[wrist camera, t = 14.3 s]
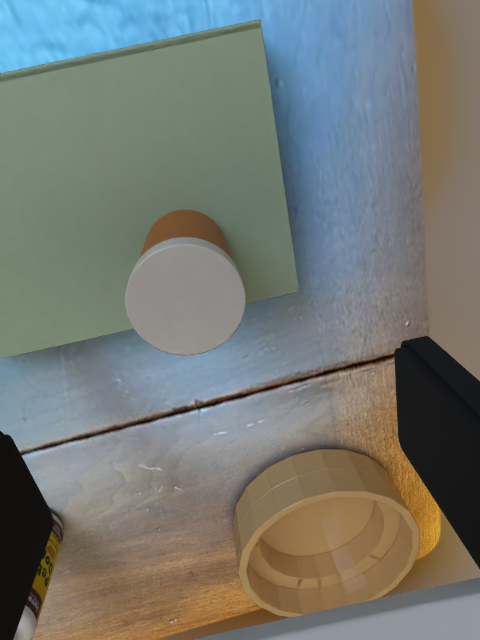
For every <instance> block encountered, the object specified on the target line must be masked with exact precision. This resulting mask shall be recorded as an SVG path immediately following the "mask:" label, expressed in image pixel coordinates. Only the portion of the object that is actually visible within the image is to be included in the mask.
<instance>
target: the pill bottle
mask: <svg viewBox="0 0 480 640" xmlns="http://www.w3.org/2000/svg"><path fill="white" fill-rule="evenodd" d="M125 304H126V310H127V314H128V317H129V320H130V322H131V324H132V326H133V327H134V329H135V330H136V332H137V333H138V334H139V335H140V336H141V337H142V338H143V339H144V340H145V341H146V342H148V343H149V344H150V345H152V346H154V347H155V348H157V349H159V350H162V351H164V352H167V353H171V354H176V355H196V354H201V353H205V352H208V351H210V350H213V349H215V348H217V347H218V346H220V345H221V344H223V343H224V342H226V341H227V340H228V339H229V338H230V337H231V336H232V335H233V334H234V332H235V331H236V330H237V328H238V327H239V325H240V323H241V321H242V318H243V315H244V312H245V307H246V293H245V287H244V284H243V281H242V278H241V275H240V273H239V270H238V268H237V266H236V265H235V263H234V261H233V260H232V257H231V254H230V251H229V248H228V245H227V243H226V240H225V237H224V235H223V232H222V231H221V229H220V227H219V226H218V225H217V224H216V223H215V222H214V221H213V220H212V219H211V218H209V217H208V216H206V215H205V214H203V213H200V212H197V211H193V210H177V211H173V212H170V213H168V214H166V215H164V216H162V217H161V218H160V219H158V220H157V221H156V222H155V223H154V225H153V226H152V227H151V229H150V231H149V233H148V235H147V238H146V241H145V244H144V246H143V249H142V252H141V255H140V258H139V260H138V261H137V263H136V264H135V266H134V268H133V270H132V273H131V275H130V278H129V281H128V284H127V288H126V293H125Z"/></svg>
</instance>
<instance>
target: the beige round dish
mask: <svg viewBox="0 0 480 640" xmlns="http://www.w3.org/2000/svg"><path fill="white" fill-rule="evenodd" d="M233 530H234V539H235V547H236V556H237V564H238V573H239V576H240V579H241V583H242V586H243V589H244V591H245V592H246V594H247V595H248V596H249V597H250V598H251V599H252V600H253V601H254V602H255V603H256V604H257V605H258V606H260V607H262V608H264V609H266V610H268V611H270V612H272V613H274V614H276V615H280V616H286V617H291V618H292V617H297V616H301V615H306V614H310V613H315V612H319V611H324V610H329V609H333V608H338V607H342V606H347V605H351V604H356V603H360V602H365V601H370V600H374V599H379V598H381V597H382V596H383V595H385V594H386V593H387V592H389V591H390V590H392V589H393V588H394V587H396V586H397V585H398V584H399V583H400V581H401V580H402V579H403V578H404V577H405V575H406V574H407V573H408V572H409V571H410V570H411V568H412V566H413V564H414V561H415V559H416V556H417V554H418V551H419V548H420V539H419V527H418V525H417V524H416V522H415V520H414V518H413V516H412V514H411V513H410V511H409V509H408V507H407V506H406V504H405V502H404V500H403V499H402V497H401V495H400V494H399V492H398V490H397V488H396V487H395V485H394V483H393V482H392V480H391V478H390V476H389V475H388V473H387V471H386V470H385V469H384V468H383V467H381V466H380V465H379V464H377V463H376V462H375V461H373V460H372V459H371V458H369V457H368V456H365V455H361V454H358V453H355V452H352V451H349V450H338V449H318V450H313V451H309V452H305V453H300V454H296V455H292V456H290V457H288V458H286V459H284V460H282V461H280V462H278V463H276V464H274V465H272V466H270V467H268V468H267V469H265V470H264V471H263V472H262V473H261V474H260V475H259V476H258V477H256V478H255V479H254V480H253V481H252V482H251V483H250V484H249V485H248V486H247V487H246V489H245V491H244V492H243V494H242V496H241V497H240V499H239V501H238V502H237V504H236V507H235V514H234V520H233Z"/></svg>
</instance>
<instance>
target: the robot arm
mask: <svg viewBox="0 0 480 640" xmlns="http://www.w3.org/2000/svg"><path fill="white" fill-rule="evenodd" d="M395 376H396V398H397V420H398V438H399V442H400V445H401V448H402V450H403V452H404V453H405V455H406V457H407V458H408V460H409V461H410V463H411V464H412V466H413V467H414V469H415V470H416V472H417V473H418V475H419V476H420V478H421V480H422V481H423V483H424V484H425V486H426V487H427V489H428V490H429V492H430V493H431V495H432V496H433V498H434V500H435V501H436V503H437V504H438V506H439V507H440V509H441V510H442V512H443V513H444V515H445V516H446V518H447V519H448V521H449V523H450V524H451V526H452V527H453V529H454V530H455V532H456V533H457V535H458V536H459V538H460V539H461V541H462V542H463V544H464V545H465V547H466V549H467V550H468V552H469V553H470V555H471V556H472V558H473V559H474V561H475V563H476V564H477V565H478V567H479V569H480V381H478V380H477V379H476V378H475V377H474V376H473V375H472V374H471V373H469V372H468V371H467V370H466V369H465V368H463V366H462V365H460V364H459V363H458V362H457V361H456V360H455V359H454V358H452V357H451V356H450V355H449V354H448V353H447V352H446V351H444V350H443V349H442V348H441V347H440V346H439V345H438V344H437V343H435V342H434V341H433V340H432V339H431V338H430V337H428V336H424V337H419V338H415V339H410V340H406V341H403V342H402V343H401V348H397V349H396V350H395ZM52 529H53V516H52V513H51V511H50V509H49V507H48V505H47V503H46V501H45V500H44V498H43V496H42V494H41V492H40V490H39V488H38V486H37V484H36V483H35V481H34V479H33V477H32V475H31V473H30V471H29V469H28V467H27V466H26V464H25V462H24V460H23V458H22V456H21V454H20V452H19V450H18V449H17V447H16V445H15V443H14V441H13V439H12V438H11V436H9V435H4V434H3V433H2V432H1V431H0V640H13V639H14V637H15V634H16V631H17V628H18V625H19V622H20V620H21V617H22V614H23V611H24V608H25V606H26V603H27V600H28V597H29V594H30V591H31V589H32V586H33V583H34V580H35V577H36V574H37V572H38V569H39V566H40V563H41V560H42V558H43V555H44V552H45V549H46V546H47V543H48V541H49V538H50V535H51V532H52ZM194 640H480V578H476V579H471V580H466V581H461V582H456V583H451V584H446V585H441V586H436V587H431V588H426V589H421V590H416V591H411V592H407V593H401V594H397V595H393V596H388V597H383V598H379V599H374V600H370V601H365V602H360V603H356V604H351V605H347V606H342V607H338V608H333V609H329V610H324V611H319V612H315V613H310V614H306V615H301V616H297V617H292V618H288V619H283V620H278V621H274V622H270V623H265V624H261V625H257V626H252V627H247V628H243V629H238V630H234V631H229V632H225V633H221V634H216V635H212V636H207V637H203V638H198V639H194Z"/></svg>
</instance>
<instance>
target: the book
mask: <svg viewBox="0 0 480 640" xmlns="http://www.w3.org/2000/svg"><path fill="white" fill-rule="evenodd" d="M177 210H193V211H197V212H200V213H203V214H205V215H206V216H208V217H209V218H211V219H212V220H213V221H214V222H215V223H216V224H217V225H218V226H219V227H220V229H221V231H222V232H223V235H224V237H225V240H226V243H227V245H228V248H229V251H230V254H231V257H232V260H233V261H234V263H235V265H236V266H237V268H238V270H239V273H240V275H241V278H242V281H243V284H244V287H245V293H246V304H247V303H251V302H256V301H260V300H265V299H269V298H274V297H278V296H283V295H287V294H292V293H296V292H299V285H298V278H297V271H296V264H295V257H294V250H293V243H292V236H291V229H290V222H289V215H288V208H287V201H286V194H285V187H284V180H283V173H282V166H281V159H280V152H279V145H278V138H277V131H276V124H275V117H274V110H273V103H272V96H271V89H270V82H269V75H268V68H267V61H266V54H265V47H264V40H263V33H262V26H261V20H260V19H259V20H254V21H249V22H244V23H240V24H235V25H230V26H225V27H220V28H216V29H211V30H206V31H201V32H196V33H192V34H187V35H182V36H177V37H172V38H168V39H163V40H158V41H153V42H148V43H144V44H139V45H134V46H129V47H124V48H120V49H115V50H110V51H105V52H100V53H96V54H91V55H86V56H81V57H76V58H72V59H67V60H62V61H57V62H52V63H48V64H43V65H38V66H33V67H28V68H24V69H19V70H14V71H9V72H4V73H0V359H2V358H6V357H11V356H15V355H20V354H24V353H29V352H33V351H38V350H42V349H47V348H51V347H55V346H60V345H64V344H69V343H73V342H78V341H82V340H87V339H91V338H96V337H100V336H104V335H109V334H113V333H118V332H122V331H127V330H131V329H134V327H133V326H132V324H131V322H130V320H129V317H128V314H127V310H126V304H125V293H126V288H127V284H128V281H129V278H130V275H131V273H132V270H133V268H134V266H135V264H136V263H137V261H138V260H139V258H140V255H141V252H142V249H143V246H144V244H145V241H146V238H147V235H148V233H149V231H150V229H151V227H152V226H153V225H154V223H155V222H156V221H157V220H158V219H160V218H161V217H162V216H164V215H166V214H168V213H170V212H173V211H177Z"/></svg>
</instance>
